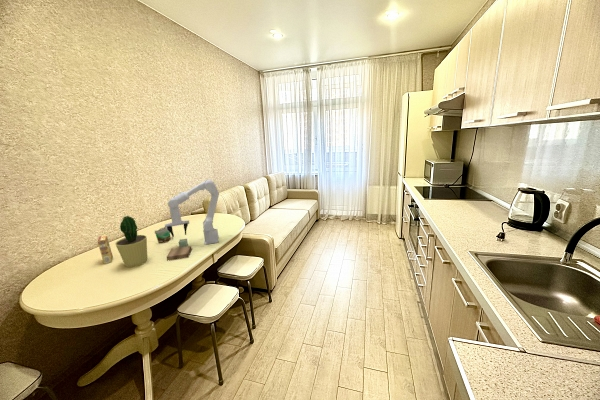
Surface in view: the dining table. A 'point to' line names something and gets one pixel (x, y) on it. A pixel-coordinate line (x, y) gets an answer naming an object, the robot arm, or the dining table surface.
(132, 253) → the potted cactus
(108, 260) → the candy box
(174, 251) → the walnut box
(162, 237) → the food container
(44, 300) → the dining table surface
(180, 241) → the sage block
